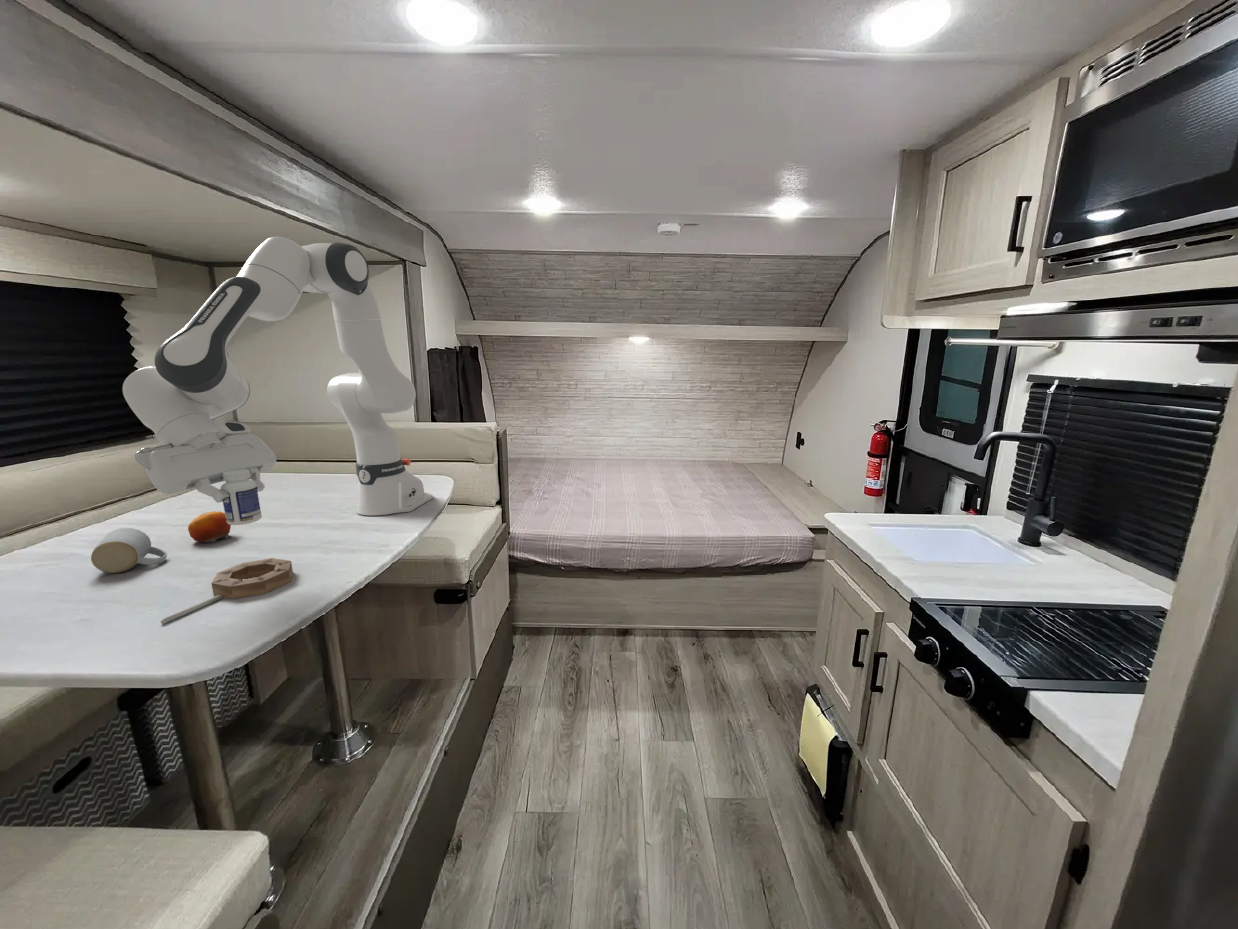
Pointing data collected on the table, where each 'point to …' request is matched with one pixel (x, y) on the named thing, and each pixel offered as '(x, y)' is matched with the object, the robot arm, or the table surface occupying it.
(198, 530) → the fruit
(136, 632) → the table surface
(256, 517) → the pill bottle
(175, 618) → the grey rod
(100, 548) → the ceramic mug
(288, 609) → the table surface
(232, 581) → the walnut ring
